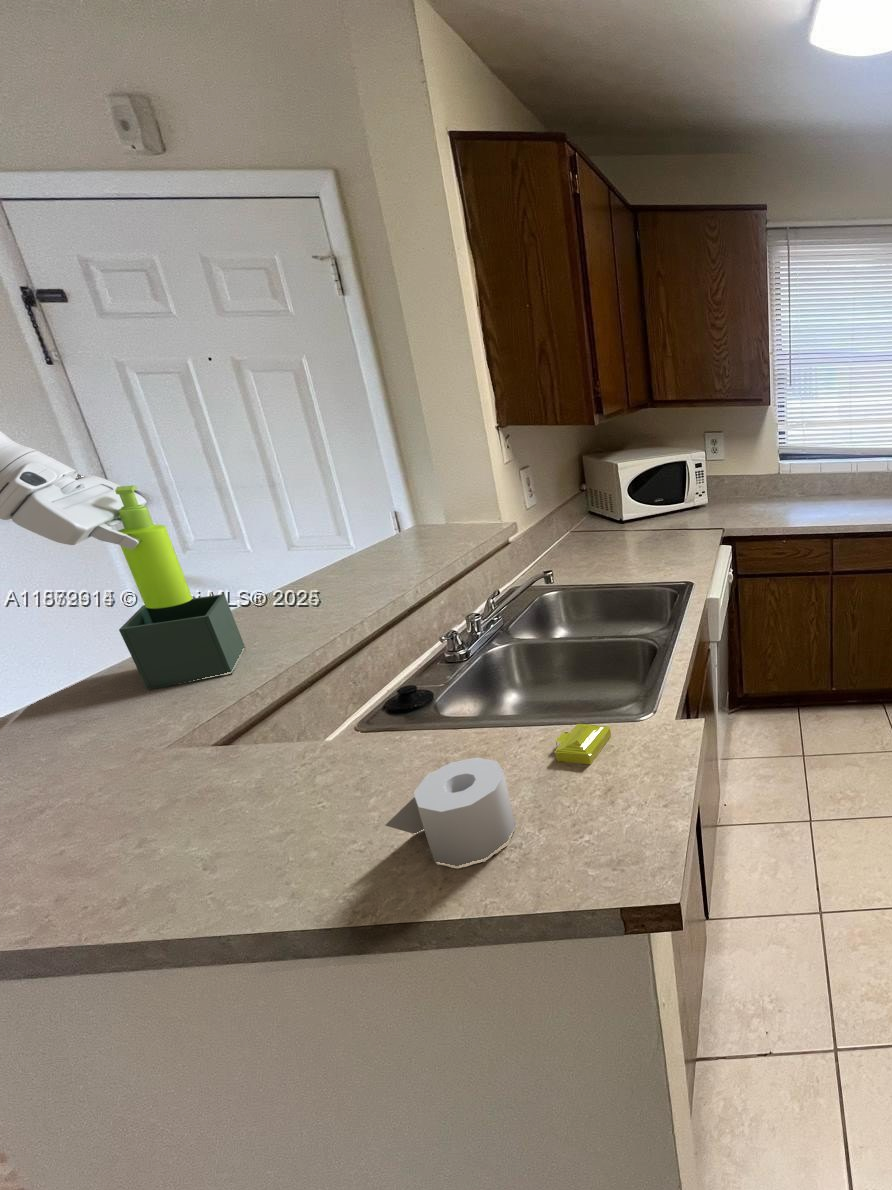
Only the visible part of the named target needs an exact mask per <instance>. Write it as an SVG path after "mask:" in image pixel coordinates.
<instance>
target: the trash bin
mask: <svg viewBox="0 0 892 1190" xmlns="http://www.w3.org/2000/svg"><path fill="white" fill-rule="evenodd" d="M118 631H119V633H120V635H121V637H122V640H123V642H124V644H125V646H126V648H127V650H128V652H129V654H130V656H131V658H132V661H133V663H134V665H135V667H136V669H137V671H138V673H139V676H140V677H141V680H142V681H143V683H144V686H145V688H146V690H147V691H151V690H157V689H161V688H163V689H164V688H167V686H168V687H171V686H170V685H173V686H176V685H175V684H179V683H184V682H189V681H193V680H197V679H202V678H205V677H210V676H215V675H220V674H224V673H227V672H231V671H232V669H233V667H234V665H235V663H236V661H237V659H238V658H239V655H240V654H241V652H242V649H243V648H244V646H245V643H244V641H243V638H242V635H241V633H240V630H239V628H238V625H237V623H236V620H235V617H234V616H233V612H232V610H231V608H230V604H229V602H228V600H227V597H226V594H225V593H222V594H216V595H209V596H208V595H207V596H201V597H192V600H190V601H188V602H186V603H183V604H180V605H176V606H171V607H166V608H156V609H151V608H146V607H145V604H143V605H142V606H141V607H140V608H138V610H137V611H136V612H134V614H133V615H132V616H131V617H130V618H128V620H127V621H125V623H124V624H122V626H121V627H120V628H119V629H118ZM189 683H190V682H189ZM184 684H185V683H184ZM179 685H180V684H179Z"/></svg>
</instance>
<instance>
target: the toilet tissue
mask: <svg viewBox="0 0 892 1190" xmlns="http://www.w3.org/2000/svg"><path fill="white" fill-rule="evenodd" d="M514 815H515V814H514V811H513V806H512V802H511V797H510V794H509V788H508V783H507V779H506V774H505V772H504V770H503V769H502V767H501V765H500V764H499V762H498V761H497V760H493V759H489V758H488V759H487V758H483V757H478V756H475V757H470V758H466V759H461V760H456V761H452V762H451V761H450V762H448V763H447V764H445V765H443V766H441V767H439V768H438V769H436V770H434V771H432V772H431V773H429V774H427V775H425V776H424V777H423V779H422V780H421V782H420V783H419V784H418V786H417V787H416V789H415V790H414V791H413V798H411V799H410V800H409V802H407V803H406V804H405V805H404V806H403V807H402V808H401V809H400V810H399V811H398V812H397V813H396V814H395V815H394V816H393V817H392V818H391V819H390V820H389V821H387V822H386V823H385V824H384V826H385V827H388V828H391V829H395V830H399V831H403V832H407V833H410V834H414V833H416V834H418V833H420V832H422V831H421V830H423V829H424V830H423V831H424V833H425V838H426V840H427V843H428V848H429V851H430V853H431V855H433V856H432V859H433V861H434V860H435V861H434V863H435V862H440V863H445V864H450V865H455V866H459V865H462V864H466V863H470V862H472V861H477V860H481V859H484V858H486V857H488V856H489V855H490V854H491V853H493V852H494V851H495V850H497V849H498V848H499V847H500V846H502V845H503V844H504V843H506V842H507V841H508V839H509V836H510V835H511V833H512V831H513V829H514V827H515V825H516V826H517V824H516V821H515V816H514ZM419 831H420V832H419ZM417 832H418V833H417ZM414 835H415V834H414Z"/></svg>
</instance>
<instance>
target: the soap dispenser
mask: <svg viewBox="0 0 892 1190" xmlns="http://www.w3.org/2000/svg"><path fill="white" fill-rule="evenodd" d="M136 490H138V486H137V485H123V486H122V485H120V487H117V488H116V490H115V492H116V494H119V495H120V498H121V500H122V503H123V505H124V507H121V509H118V512H119V515H120V517H121V520H122V522H121V523H122V524H123V527H124V528H122V529H119V530H117V531H118V532H121V533H124V534H127V535H128V534H132V535H134V536H135V537H138V538H140V539H141V540H142V541H141V543H140V544H139V545H138V546H137V547H136V548H134V549H131V550H130V549H127V548H125V547H123V546H121V545H119V546H120V548H121V550H122V553H123V555H124V558H125V560H126V563H127V566H128V568H129V570H130V573H131V575H132V577H133V580H134V582H135V585H136V587H137V589H138V593H139V594H140V597H141V600H142V602H143V603H144V604H143V605H145V607H146V608H151V609H156V608H166V607H171V606H176V605H180V604H183V603H186V602H188V601H190V600H192V599H193V595H192V593H191V590H190V588H189V585H188V582H187V580H186V577H185V575H184V572H183V569H182V566H181V563H180V561H179V558H178V556H177V553H176V551H175V548H174V546H173V542H172V540H171V537H170V534H169V533H168V529H167V526H166V525H164V524H157V525H154V524H153V523H154V522H153V519H152V516H151V513H150V510H149V508H148V507H147V506H145V505H144V506H142V505H139V504H138V502H137V499H136V497H135V494H134V492H135V491H136Z"/></svg>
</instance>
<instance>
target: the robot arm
mask: <svg viewBox="0 0 892 1190" xmlns="http://www.w3.org/2000/svg"><path fill="white" fill-rule="evenodd" d="M120 486H121V485H120V484H118V483H115V482H113V481H111V480H109V479H106V478H104V477H100V476H96V475H89V476H88V475H87V476H86V475H81V474H79V473H78V471H77V470H76V469H75V468H72V467H71V466H68V465H67V464H64V463H62V462H60V461H59V460H57V459H56V458H53V457H51V456H49V455H47V454H45V453H44V452H42V451H39V450H38V449H36V448H32V447H29V446H26V445H23V444H20V443H18V442H16V441H14V440H13V439H11V438H10V437H8V436H7V434H5V433H4V432H2V431H1V430H0V520H2V521H10V520H11V521H12V522H13V523H14V524H16V525H17V526H19V527H21V528H23V529H25V530H28V531H29V532H31V533H34V534H36V535H39V536H40V537H43V538H45V539H47V540H50V541H53V542H55V543H59V544H62V545H68V546H76V545H77V544H79V543H81V542H83V541H85V540H87V539H89V538H93V539H96V540H98V541H101V542H105V543H109V544H114V545H118V546H120V545H121V546H123V547H125V548H127V549H130V550H131V549H134V548H136V547H137V546H138V545H139V544H140V543H141V541H142V540H141V539H140V538H138V537H135V536H134V535H132V534H128V535H127V534H124V533H121V532H118V530H115V529H113V527H114V526H116V525H118V524H120V523H123V522H122V520H121V517H120V515H119V512H118V509H121V507H124V505H123V503H122V500H121V498H120V495H119V494H116V492H115V490H116V488H117V487H120ZM134 494H135V497H136V499H137V502H138V504H139V505H142V506H145V505H146V504H147V503H148V501H147V500H146V499H145V497H144V496H142V495H140V494H139V493H137V492H135V491H134ZM153 524H154V525H158V524H157V523H155V522H153ZM121 546H120V547H121Z"/></svg>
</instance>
